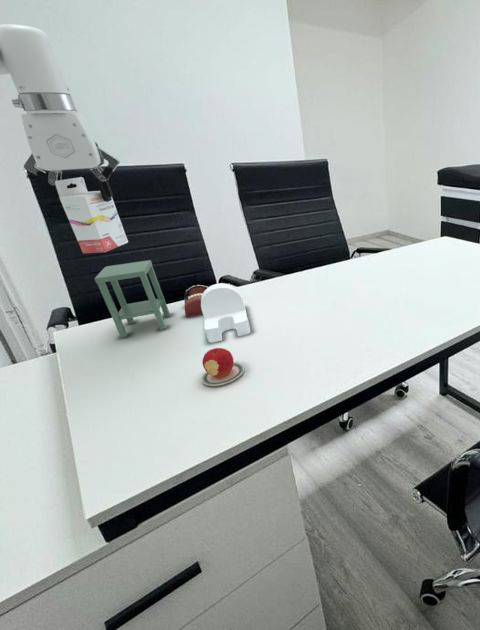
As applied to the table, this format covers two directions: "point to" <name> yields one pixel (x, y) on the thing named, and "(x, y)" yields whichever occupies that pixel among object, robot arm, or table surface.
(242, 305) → the white phone stand
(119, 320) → the high shelf
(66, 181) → the ink cartridge box
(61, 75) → the robot arm
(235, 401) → the table surface
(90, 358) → the table surface
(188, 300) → the teeth model
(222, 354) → the apple
